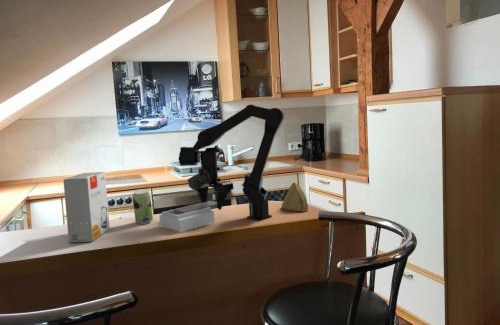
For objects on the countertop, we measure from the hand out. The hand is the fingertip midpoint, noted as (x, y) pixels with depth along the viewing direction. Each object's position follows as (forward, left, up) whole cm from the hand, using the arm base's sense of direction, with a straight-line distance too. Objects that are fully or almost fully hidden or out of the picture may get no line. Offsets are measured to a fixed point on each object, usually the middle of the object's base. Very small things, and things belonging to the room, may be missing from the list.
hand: (211, 208), depth 150 cm
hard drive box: (+16, +38, -4) cm, 41 cm away
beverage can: (+15, +19, -4) cm, 25 cm away
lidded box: (0, +11, -4) cm, 12 cm away
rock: (-17, -26, -4) cm, 31 cm away
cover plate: (0, +6, 0) cm, 6 cm away
